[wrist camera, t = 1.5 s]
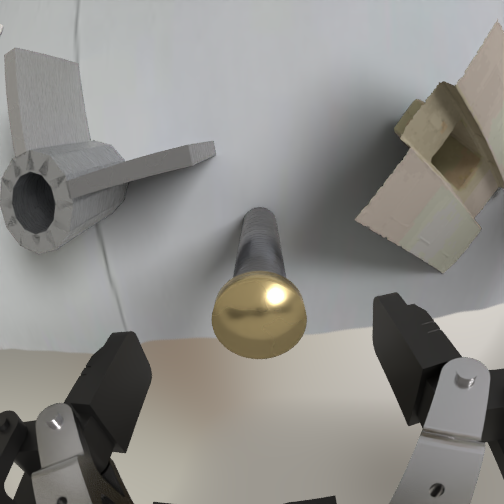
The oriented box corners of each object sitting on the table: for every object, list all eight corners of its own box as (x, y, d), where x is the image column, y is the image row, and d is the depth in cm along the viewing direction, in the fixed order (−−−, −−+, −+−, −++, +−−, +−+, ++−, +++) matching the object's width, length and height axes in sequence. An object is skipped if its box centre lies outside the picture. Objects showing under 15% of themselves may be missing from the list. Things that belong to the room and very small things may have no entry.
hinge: (190, 22, 18) (158, -24, 10) (223, 188, 22) (204, 218, 15) (46, 80, 19) (-20, 73, 11) (75, 223, 23) (17, 259, 16)
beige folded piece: (473, 89, 22) (431, -19, 11) (543, 141, 17) (556, 39, 6) (384, 211, 29) (293, 171, 19) (444, 274, 24) (394, 277, 14)
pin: (279, 196, 22) (300, 273, 10) (286, 241, 23) (310, 351, 12) (232, 204, 23) (201, 288, 11) (241, 248, 24) (223, 363, 12)
